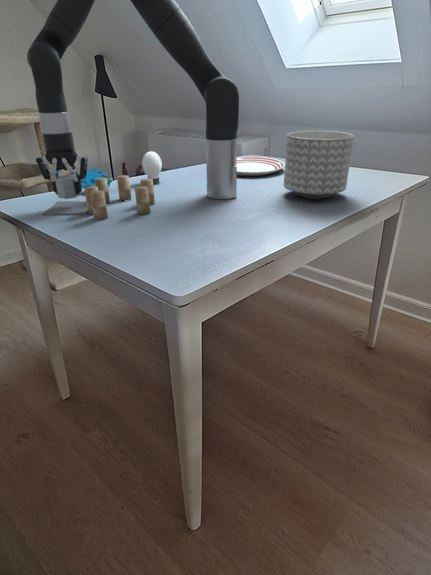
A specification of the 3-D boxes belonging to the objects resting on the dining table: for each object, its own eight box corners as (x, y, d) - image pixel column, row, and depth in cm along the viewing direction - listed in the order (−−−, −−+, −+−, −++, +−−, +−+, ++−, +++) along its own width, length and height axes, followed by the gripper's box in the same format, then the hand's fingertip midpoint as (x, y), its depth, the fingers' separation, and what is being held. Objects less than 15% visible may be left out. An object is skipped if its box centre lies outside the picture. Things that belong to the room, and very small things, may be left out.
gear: (80, 191, 125) (76, 164, 127) (79, 201, 130) (75, 175, 133) (115, 192, 129) (111, 166, 132) (112, 201, 135) (108, 176, 137)
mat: (97, 202, 120) (97, 201, 119) (85, 214, 109) (85, 213, 109) (58, 202, 120) (57, 201, 120) (42, 215, 109) (42, 213, 109)
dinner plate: (289, 179, 145) (290, 169, 143) (215, 179, 146) (215, 170, 144) (280, 164, 169) (280, 156, 168) (216, 164, 170) (216, 156, 168)
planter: (355, 194, 124) (365, 133, 115) (325, 208, 112) (333, 141, 103) (303, 185, 136) (308, 129, 127) (270, 196, 123) (274, 135, 115)
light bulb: (161, 180, 144) (158, 149, 138) (164, 184, 138) (162, 152, 133) (142, 182, 142) (139, 150, 136) (145, 186, 136) (142, 153, 131)
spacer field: (157, 197, 124) (155, 174, 120) (147, 219, 105) (144, 193, 101) (102, 198, 124) (98, 175, 121) (81, 220, 105) (76, 194, 102)
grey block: (80, 193, 115) (77, 174, 113) (74, 199, 110) (70, 179, 108) (63, 193, 115) (60, 174, 113) (56, 199, 110) (52, 179, 108)
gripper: (87, 128, 108) (96, 190, 116) (35, 129, 108) (48, 190, 116) (79, 132, 101) (89, 197, 109) (23, 132, 101) (38, 197, 109)
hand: (68, 193), depth 112 cm, fingers closed on grey block, 5 cm apart
